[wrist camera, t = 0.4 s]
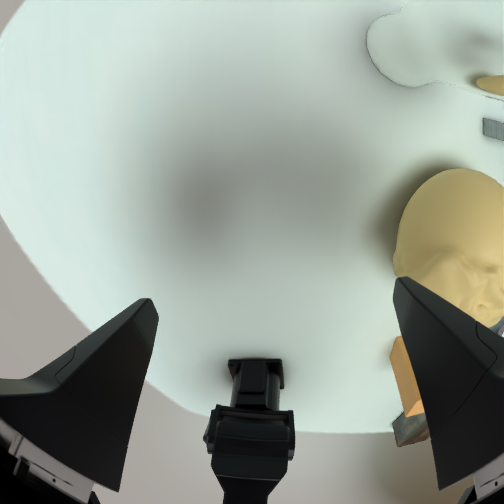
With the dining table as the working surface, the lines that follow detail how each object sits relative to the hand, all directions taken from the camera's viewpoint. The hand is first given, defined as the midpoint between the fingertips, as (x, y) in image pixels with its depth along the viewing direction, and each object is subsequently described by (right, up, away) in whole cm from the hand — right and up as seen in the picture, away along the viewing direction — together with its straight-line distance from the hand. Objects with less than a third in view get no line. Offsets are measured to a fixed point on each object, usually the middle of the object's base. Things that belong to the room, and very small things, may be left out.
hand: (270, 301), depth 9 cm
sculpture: (+16, +4, +11) cm, 20 cm away
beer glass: (+10, +17, +4) cm, 20 cm away
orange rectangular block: (+18, -10, +19) cm, 28 cm away
